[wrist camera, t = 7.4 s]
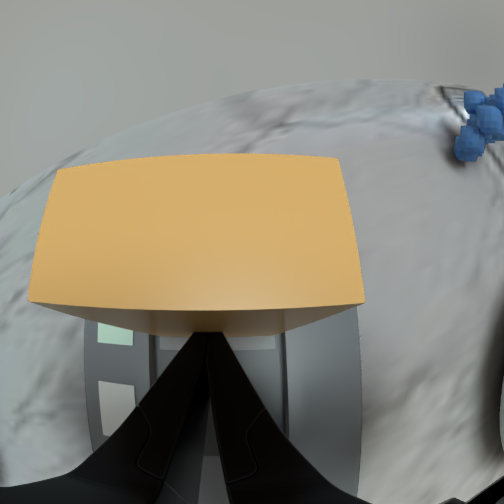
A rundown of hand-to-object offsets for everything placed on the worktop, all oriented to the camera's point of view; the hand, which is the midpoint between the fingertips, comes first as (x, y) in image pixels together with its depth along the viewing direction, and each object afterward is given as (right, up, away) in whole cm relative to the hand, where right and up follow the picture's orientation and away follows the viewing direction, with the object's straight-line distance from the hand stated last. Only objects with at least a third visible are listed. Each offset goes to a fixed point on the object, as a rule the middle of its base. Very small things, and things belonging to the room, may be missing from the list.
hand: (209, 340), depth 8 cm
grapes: (+25, +15, +15) cm, 32 cm away
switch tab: (0, 0, +4) cm, 4 cm away
